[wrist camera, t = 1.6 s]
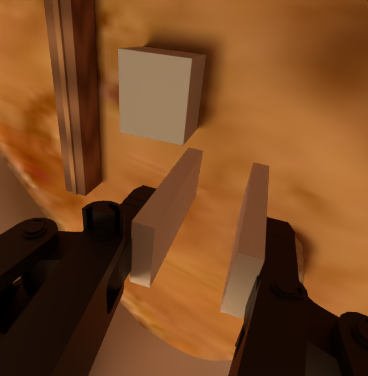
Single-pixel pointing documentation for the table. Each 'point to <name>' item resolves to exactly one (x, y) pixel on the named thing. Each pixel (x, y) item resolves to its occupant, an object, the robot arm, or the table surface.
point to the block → (160, 93)
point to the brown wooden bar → (75, 90)
